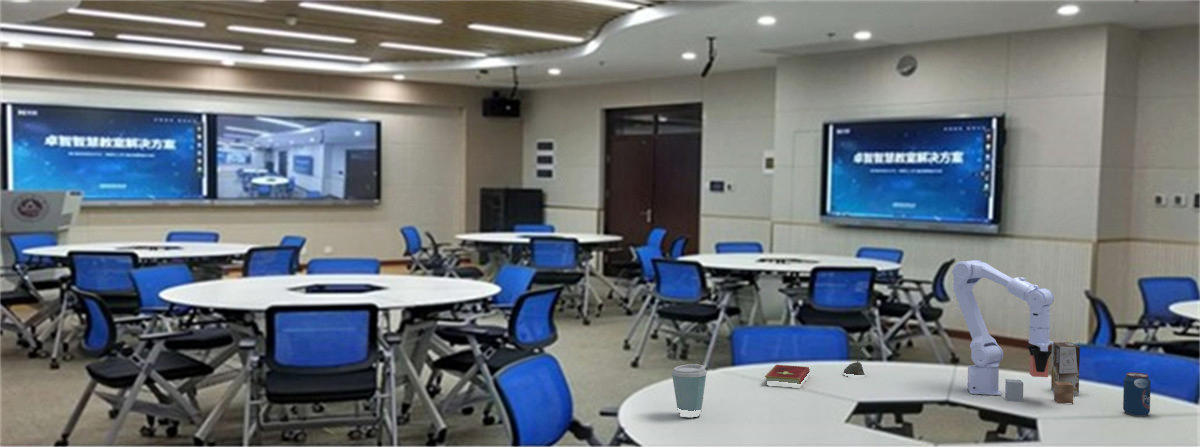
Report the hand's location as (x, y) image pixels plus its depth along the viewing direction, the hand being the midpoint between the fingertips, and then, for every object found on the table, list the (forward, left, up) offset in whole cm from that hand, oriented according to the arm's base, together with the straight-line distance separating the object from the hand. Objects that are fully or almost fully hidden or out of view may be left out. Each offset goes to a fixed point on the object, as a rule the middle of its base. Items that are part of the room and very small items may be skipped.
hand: (1038, 370), depth 287 cm
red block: (0, 0, -2) cm, 2 cm away
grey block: (-6, +3, -10) cm, 13 cm away
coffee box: (+12, +17, -11) cm, 23 cm away
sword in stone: (-55, +28, -11) cm, 63 cm away
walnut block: (+8, +3, -10) cm, 14 cm away
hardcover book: (-78, +13, -11) cm, 80 cm away
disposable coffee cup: (-104, -42, -11) cm, 113 cm away
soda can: (+26, -8, -11) cm, 29 cm away
